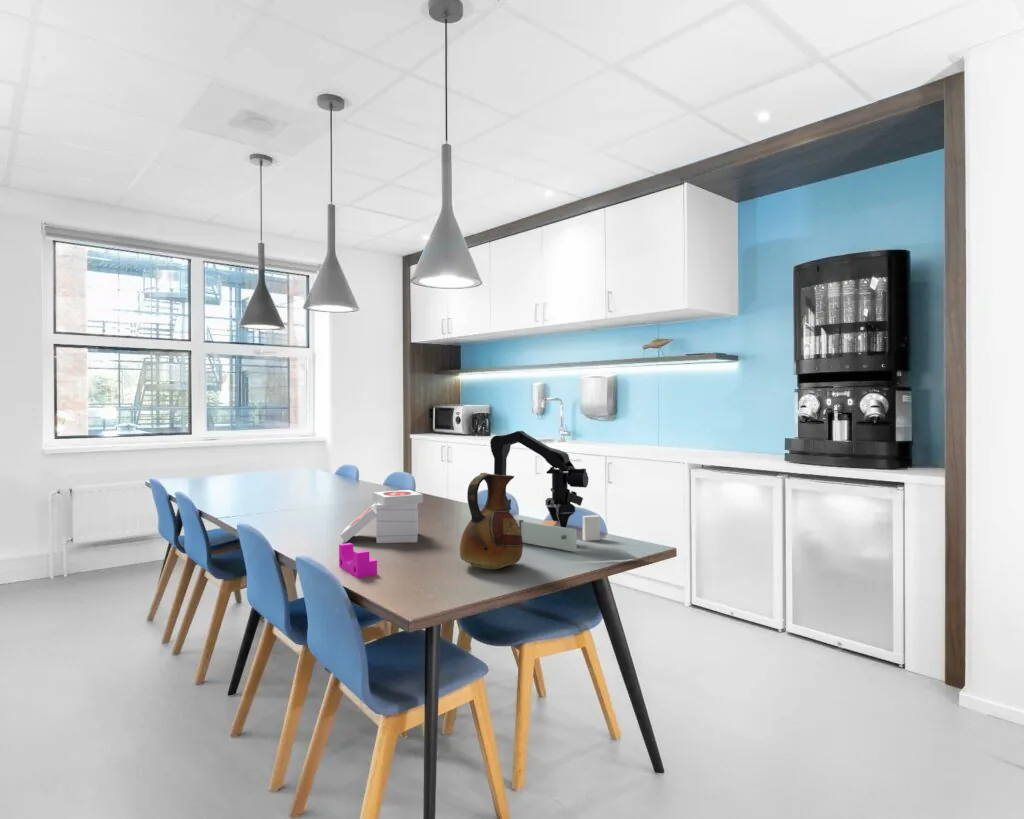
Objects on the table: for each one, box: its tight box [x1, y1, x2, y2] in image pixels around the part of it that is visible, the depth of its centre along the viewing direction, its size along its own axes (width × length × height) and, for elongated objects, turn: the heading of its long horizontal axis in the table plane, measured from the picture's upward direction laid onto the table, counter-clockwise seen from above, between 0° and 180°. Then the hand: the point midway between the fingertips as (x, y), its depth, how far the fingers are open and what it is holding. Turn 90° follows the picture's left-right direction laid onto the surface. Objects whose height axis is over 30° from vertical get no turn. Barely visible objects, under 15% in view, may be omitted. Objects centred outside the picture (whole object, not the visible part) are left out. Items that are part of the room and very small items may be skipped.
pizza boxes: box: [340, 489, 424, 544], centre depth 234 cm, size 19×30×18 cm, turn 98°
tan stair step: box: [541, 519, 559, 527], centre depth 228 cm, size 10×6×7 cm, turn 64°
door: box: [519, 519, 577, 552], centre depth 222 cm, size 25×3×8 cm, turn 51°
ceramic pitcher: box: [459, 472, 524, 571], centre depth 196 cm, size 20×20×30 cm
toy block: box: [338, 542, 378, 579], centre depth 191 cm, size 15×6×8 cm, turn 36°
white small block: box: [514, 514, 601, 542], centre depth 233 cm, size 33×3×9 cm, turn 102°
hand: (559, 528), depth 227 cm, fingers open, 9 cm apart
